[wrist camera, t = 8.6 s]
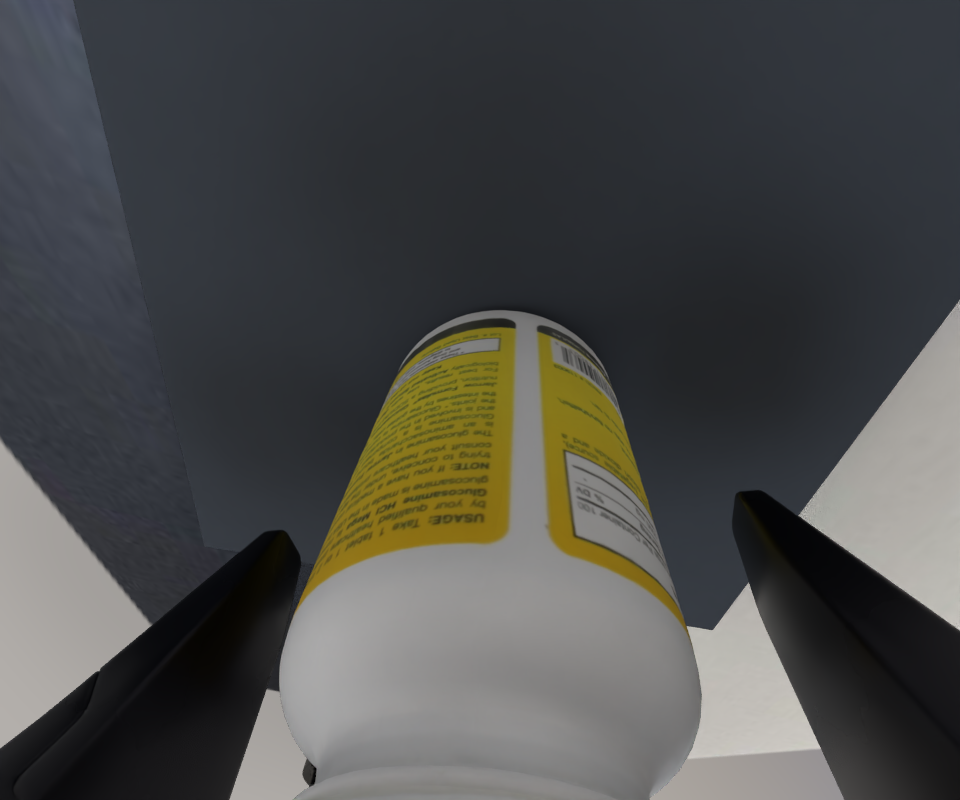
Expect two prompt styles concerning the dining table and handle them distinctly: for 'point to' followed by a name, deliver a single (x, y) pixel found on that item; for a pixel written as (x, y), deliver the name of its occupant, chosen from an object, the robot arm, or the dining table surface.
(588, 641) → the pill bottle
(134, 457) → the dining table surface
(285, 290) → the left mat
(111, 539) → the dining table surface
